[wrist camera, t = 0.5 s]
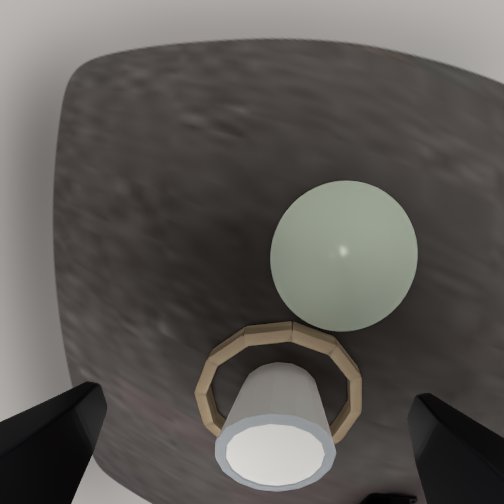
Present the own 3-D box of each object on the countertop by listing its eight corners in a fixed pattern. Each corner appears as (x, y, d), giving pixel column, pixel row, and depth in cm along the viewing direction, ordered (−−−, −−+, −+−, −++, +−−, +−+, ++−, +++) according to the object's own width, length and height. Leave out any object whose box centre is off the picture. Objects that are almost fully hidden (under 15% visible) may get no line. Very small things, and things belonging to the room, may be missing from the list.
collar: (314, 461, 22) (315, 473, 21) (185, 419, 23) (180, 429, 21) (385, 354, 20) (391, 364, 19) (232, 297, 21) (228, 304, 19)
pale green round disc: (376, 345, 20) (379, 349, 20) (248, 297, 21) (247, 300, 20) (434, 217, 19) (438, 218, 18) (304, 157, 19) (304, 156, 18)
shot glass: (223, 414, 22) (203, 476, 16) (247, 342, 21) (229, 399, 14) (306, 435, 22) (308, 500, 15) (340, 367, 21) (357, 429, 14)
